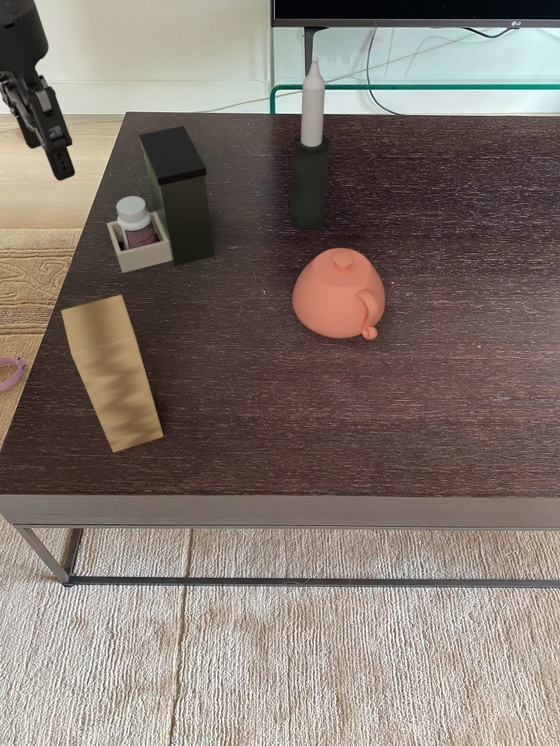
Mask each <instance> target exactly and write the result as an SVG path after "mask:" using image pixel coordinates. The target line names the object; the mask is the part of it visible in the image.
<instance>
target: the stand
mask: <svg viewBox="0 0 560 746" xmlns="http://www.w3.org/2000/svg"><path fill="white" fill-rule="evenodd" d="M60 312H61V316H62V320H63V324H64V329H65V333H66V337H67V342H68V346H69V350H70V355H71V357H72V359H73V362H74V364H75V367H76V369H77V371H78V374H79V375H80V378H81V381H82V382H83V385H84V388H85V390H86V392H87V395H88V398H89V400H90V401H91V404H92V406H93V409H94V412H95V413H96V416H97V418H98V420H99V423H100V425H101V428H102V430H103V432H104V435H105V437H106V439H107V442H108V444H109V446H110V448H111V452H112V453H117V452H120V451H123V450H126V449H129V448H133V447H135V446H139V445H142V444H145V443H148V442H151V441H155V440H158V439H160V438H164V433H163V429H162V425H161V422H160V419H159V415H158V411H157V408H156V404H155V400H154V398H153V394H152V391H151V387H150V382H149V379H148V376H147V373H146V369H145V365H144V361H143V358H142V355H141V350H140V348H139V344H138V341H137V337H136V334H135V330H134V328H133V324H132V322H131V319H130V315H129V313H128V309H127V306H126V303H125V301H124V297H123V294H118V295H113V296H110V297H107V298H103V299H99V300H95V301H91V302H87V303H83V304H79V305H75V306H72V307H69V308H65V309H61V310H60Z"/></svg>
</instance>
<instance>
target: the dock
mask: <svg viewBox="0 0 560 746" xmlns="http://www.w3.org/2000/svg"><path fill="white" fill-rule="evenodd" d="M149 213H150V215H151V219H152V224H153V229H154V234H155V235H156V236H157V237H158V239H159V241H158V242H157V241H156V243H153V244H149V245H145V246H141V247H137V248H133V249H129V250H125V249H124V250H121V248H120V245H119V243H121V242H122V238H121V234H120V231H119V227H118V224H117V220H114V221H110V222H107V223H106V226H107V229H108V234H109V236H110V240H111V243H112V246H113V249H114V252H115V255H116V259H117V261H118V264H119V267H120V270H121V273H122V274H124V273H129V272H133V271H136V270H141V269H144V268H148V267H153V266H157V265H160V264H164V263H168V262H171V261H172V257H171V251H170V246H169V241H168V239H167V237H166V234H165V232H164V229H163V227H162V225H161V222H160V220H159V218H158V215H157V213H156V212H155V211H151V212H149ZM122 243H123V242H122ZM172 262H173V261H172Z"/></svg>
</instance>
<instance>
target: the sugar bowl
mask: <svg viewBox="0 0 560 746" xmlns="http://www.w3.org/2000/svg"><path fill="white" fill-rule="evenodd" d="M291 300H292V301H291V302H292V303H291V304H292V309H293V311H294V313H295V315H296V317H297V318H298V320H299V321H300V322H301V324H303V325H304V326H305V327H306V328H307V329H309V330H310V331H312V332H313V333H316V334H318V335H320V336H323V337H327V338H331V339H349V338H353V337H357V336H359V335H362V337H364V339H366V340H374V339H376V338H377V336H378V330H377V328H376V327H375V326H376V325H377V324H378V322H379V321H380V320H381V319H382V317H383V316H384V312H385V308H386V307H385V306H386V293H385V287H384V283H383V281H382V279H381V276H380V275H379V273H378V271H377V270H376V268H375V267H374V265H373V264H372V263H371V262H370V260H369V259H368V258H367V257H366V256H365V255H364V254H362V253H361V252H359V251H357V250H354V249H351V248H347V247H346V248H344V247H335V248H331V249H327V250H325V251H323V252H321V253H319V254H318V255H317V256H315V257H314V258H313V259H311V261H310V262H308V264H307V265H306V266H305V267H304V268H303V270H301V272H300V274H299V275H298V277H297V279H296V282H295V284H294V287H293V291H292V299H291Z"/></svg>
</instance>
